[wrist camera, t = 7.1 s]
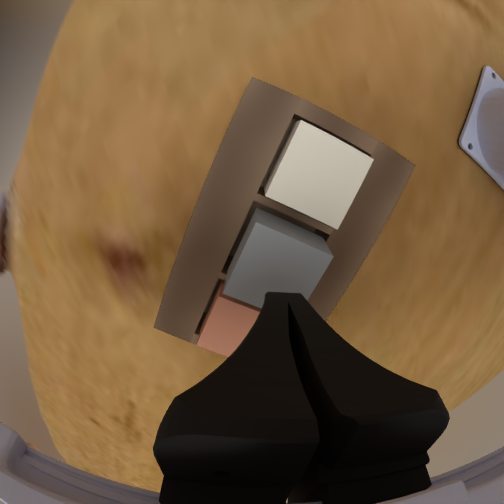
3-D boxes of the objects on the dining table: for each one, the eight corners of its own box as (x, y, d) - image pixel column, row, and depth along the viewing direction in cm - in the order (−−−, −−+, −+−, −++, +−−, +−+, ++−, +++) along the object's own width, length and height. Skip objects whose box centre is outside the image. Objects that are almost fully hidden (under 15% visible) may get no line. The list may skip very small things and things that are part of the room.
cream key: (357, 154, 15) (373, 159, 13) (326, 215, 17) (337, 229, 14) (294, 122, 15) (301, 119, 12) (264, 186, 16) (264, 195, 14)
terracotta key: (281, 297, 19) (284, 321, 17) (255, 340, 20) (255, 365, 18) (223, 274, 18) (218, 296, 16) (202, 321, 20) (196, 345, 17)
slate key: (323, 237, 16) (333, 256, 14) (290, 295, 17) (294, 320, 15) (256, 207, 15) (256, 222, 13) (227, 270, 17) (222, 293, 14)
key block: (393, 159, 17) (415, 165, 14) (284, 348, 23) (286, 374, 20) (253, 85, 16) (252, 76, 13) (165, 303, 21) (153, 327, 19)
